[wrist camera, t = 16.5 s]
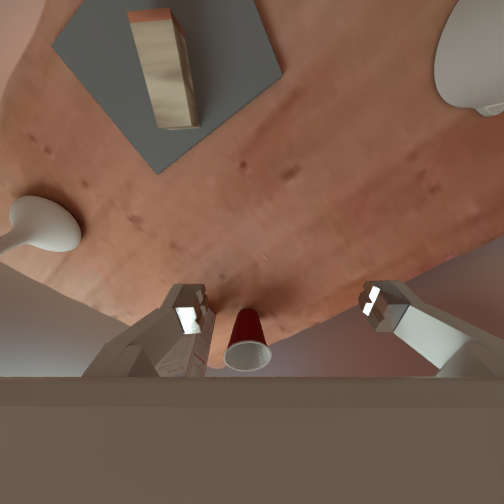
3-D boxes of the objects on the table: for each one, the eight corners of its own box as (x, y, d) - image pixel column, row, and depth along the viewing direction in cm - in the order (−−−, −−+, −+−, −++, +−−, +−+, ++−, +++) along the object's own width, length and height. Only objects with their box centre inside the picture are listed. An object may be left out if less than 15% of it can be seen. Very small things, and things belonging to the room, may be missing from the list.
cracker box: (177, 329, 54) (140, 423, 36) (164, 317, 51) (116, 412, 33) (218, 315, 51) (199, 410, 33) (205, 301, 48) (177, 396, 30)
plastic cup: (275, 318, 51) (281, 362, 41) (244, 332, 54) (242, 376, 44) (253, 295, 47) (253, 338, 36) (221, 312, 50) (212, 355, 40)
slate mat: (196, -139, 18) (194, -151, 17) (281, 76, 25) (282, 74, 25) (56, 48, 24) (50, 45, 23) (158, 174, 32) (156, 174, 31)
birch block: (171, 129, 28) (148, 33, 23) (200, 127, 28) (183, 30, 23) (157, 127, 24) (126, 11, 19) (191, 125, 24) (169, 7, 19)
